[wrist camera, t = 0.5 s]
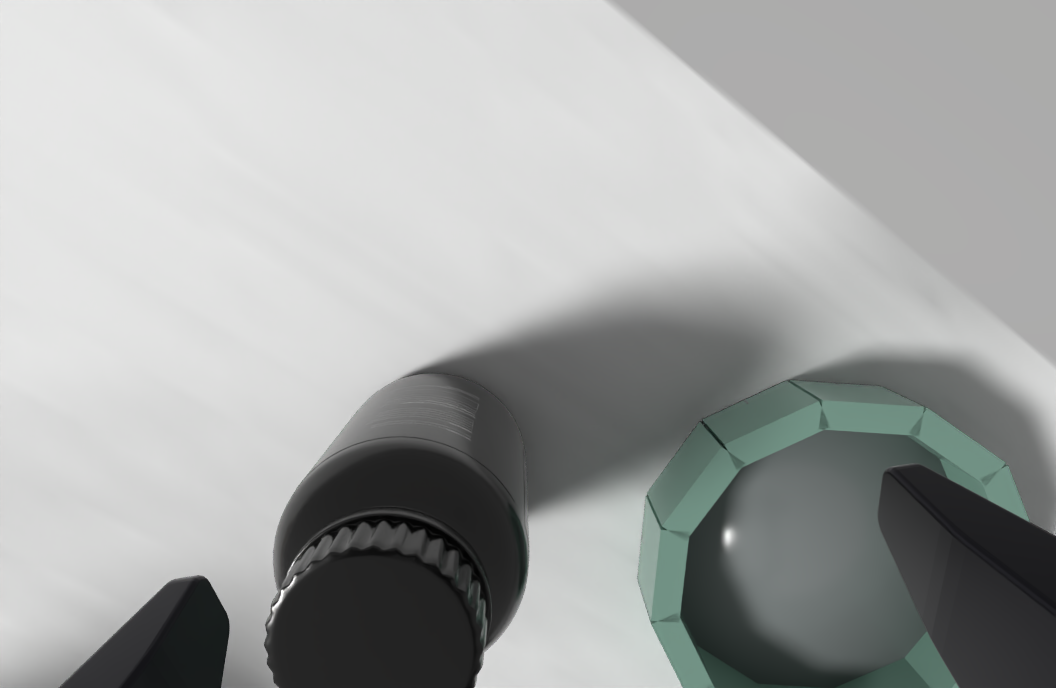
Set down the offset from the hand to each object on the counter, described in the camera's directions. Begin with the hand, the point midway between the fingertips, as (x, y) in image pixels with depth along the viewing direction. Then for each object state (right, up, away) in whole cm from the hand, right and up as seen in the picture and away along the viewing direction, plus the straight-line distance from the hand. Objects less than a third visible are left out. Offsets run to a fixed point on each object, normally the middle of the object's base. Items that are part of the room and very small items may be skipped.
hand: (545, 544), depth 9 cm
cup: (+11, -5, +18) cm, 22 cm away
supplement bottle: (-4, -2, +18) cm, 18 cm away
